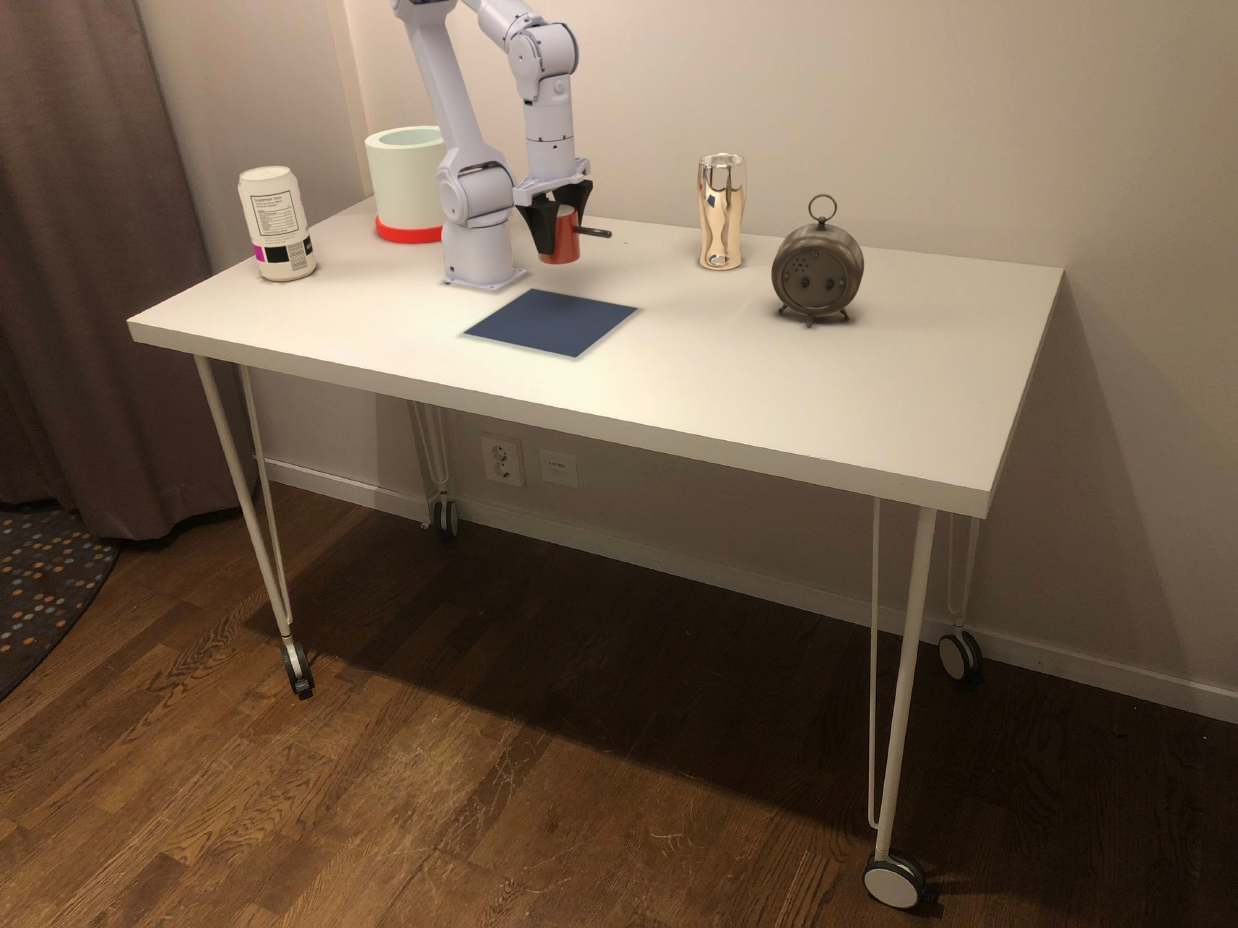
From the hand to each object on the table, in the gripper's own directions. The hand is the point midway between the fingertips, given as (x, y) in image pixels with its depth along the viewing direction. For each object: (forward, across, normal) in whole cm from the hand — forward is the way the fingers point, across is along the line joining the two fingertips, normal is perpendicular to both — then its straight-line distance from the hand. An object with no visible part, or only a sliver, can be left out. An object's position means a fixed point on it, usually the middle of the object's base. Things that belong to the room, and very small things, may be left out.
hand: (558, 245), depth 119 cm
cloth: (+9, -3, 0) cm, 10 cm away
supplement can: (+10, -4, +46) cm, 48 cm away
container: (+10, +21, +41) cm, 47 cm away
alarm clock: (+10, +11, -30) cm, 34 cm away
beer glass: (+10, +25, -11) cm, 29 cm away
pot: (+2, 0, -3) cm, 3 cm away
